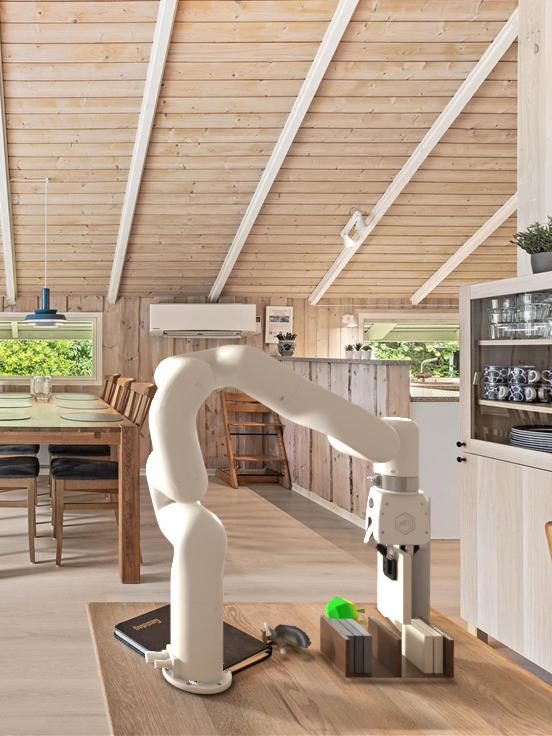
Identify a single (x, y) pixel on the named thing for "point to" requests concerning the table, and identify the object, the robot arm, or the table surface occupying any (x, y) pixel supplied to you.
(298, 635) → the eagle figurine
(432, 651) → the white books
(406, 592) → the white book
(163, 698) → the table surface
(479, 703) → the table surface
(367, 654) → the grey books
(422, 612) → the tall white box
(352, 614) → the apple
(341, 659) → the book rack
